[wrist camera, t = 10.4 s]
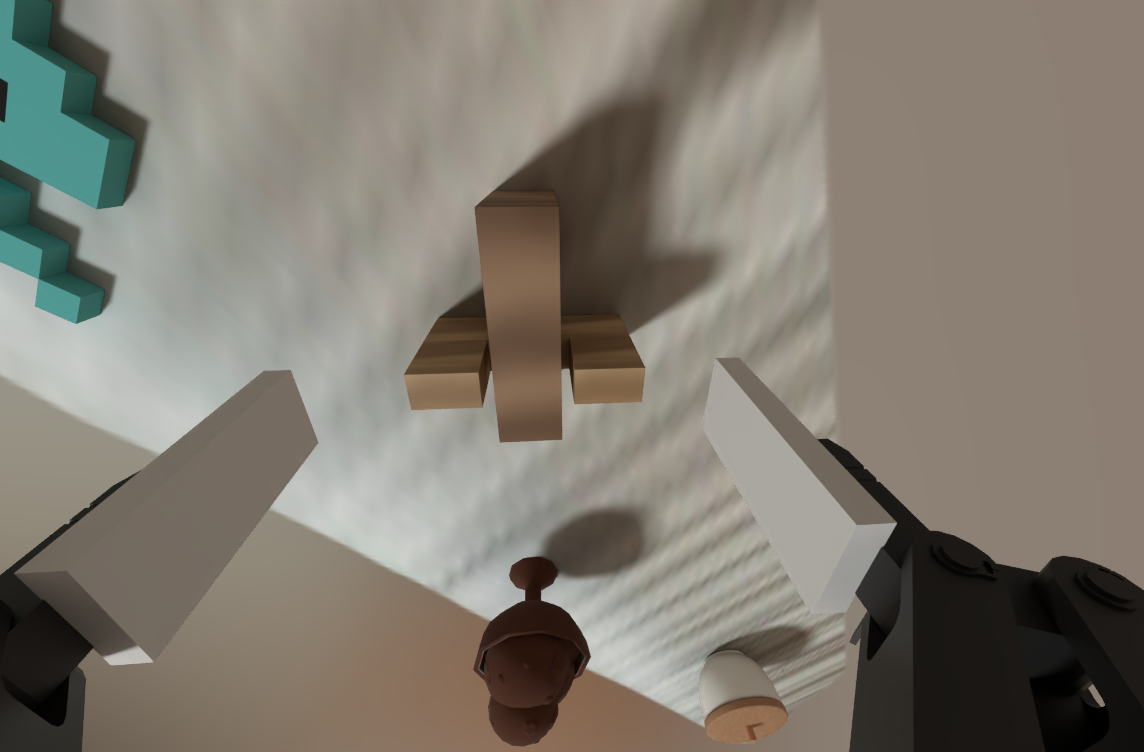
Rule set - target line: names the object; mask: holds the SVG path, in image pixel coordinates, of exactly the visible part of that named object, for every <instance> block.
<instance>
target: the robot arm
mask: <svg viewBox="0 0 1144 752" xmlns="http://www.w3.org/2000/svg"><path fill="white" fill-rule="evenodd" d="M702 429H703V431H704V432H705V434H706V436H707V437H708V439H709V441H710V442H711V444H712V446H713V448H714V449H715V451H716V453H717V454H718V456H719V458H720V460H721V461H722V463H723V465H724V466H725V468H726V470H727V472H728V473H729V475H730V477H731V478H732V480H733V482H734V483H735V485H736V487H737V489H738V490H739V492H740V494H741V495H742V497H743V499H744V501H745V502H746V504H747V506H748V507H749V509H750V511H751V513H752V514H753V516H754V518H755V519H756V521H757V523H758V524H759V526H760V528H761V530H762V531H763V533H764V535H765V536H766V538H767V540H768V542H769V543H770V545H771V547H772V548H773V550H774V552H775V554H776V555H777V557H778V559H779V560H780V562H781V564H782V565H783V567H784V569H785V571H786V572H787V574H788V576H789V577H790V579H791V581H792V583H793V584H794V586H795V588H796V589H797V591H798V593H799V595H800V596H801V598H802V600H803V601H804V603H805V605H806V606H807V608H808V610H809V612H810V613H811V615H815V614H829V613H843V612H846V611H847V609H848V607H849V606H850V604H851V602H852V600H853V599H854V597H855V595H857V597H858V598H859V599H860V601H861V602H862V604H863V605H864V607H865V608H866V609H867V613H866V614H865V616H864V618H863V619H862V621H861V622H860V624H859V626H858V627H857V629H856V630H855V632H854V634H853V636H852V638H851V640H850V643H852V644H854V645H856V644H857V642H858V641H859V639H860V638H861V640H860V650H859V660H858V670H857V681H856V690H855V700H854V710H853V720H852V730H851V741H850V750H849V752H1144V590H1142V589H1141V588H1140V587H1138V586H1136V585H1135V584H1133V583H1132V582H1131V581H1129V580H1128V579H1126V578H1125V577H1123V576H1122V575H1120V574H1118V573H1116V572H1114V571H1111V570H1110V569H1107V568H1105V567H1103V566H1101V565H1098V564H1095V563H1092V562H1089V561H1087V560H1084V559H1081V558H1075V557H1067V556H1060V557H1056V558H1052V559H1051V560H1050V561H1049V563H1048V564H1047V565H1046V566H1045V567H1044V568H1043V569H1042V570H1041V571H1040V572H1035V571H1030V570H1025V569H1020V568H1016V567H1011V566H1006V565H1001V564H996V563H995V562H994V561H993V560H992V559H991V558H990V557H989V556H988V555H987V554H985V553H984V552H982V551H981V550H980V549H978V548H977V547H975V546H974V545H972V544H970V543H968V542H966V541H964V540H962V539H960V538H958V537H956V536H954V535H950V534H946V533H943V532H939V531H929V530H928V529H927V528H926V527H925V526H924V525H923V524H922V523H921V522H920V521H919V520H918V519H917V518H916V517H915V516H914V515H913V514H912V513H911V512H910V511H909V510H908V509H907V508H906V507H905V506H904V505H903V504H902V503H901V502H900V501H899V500H898V499H897V498H896V497H895V496H894V495H893V494H892V493H890V491H888V490H887V488H885V487H884V486H883V485H882V484H881V483H880V482H877V481H876V478H875V477H874V476H873V475H872V474H871V473H870V472H869V471H868V470H867V469H864V466H863V465H862V464H861V463H860V462H859V461H858V460H857V459H856V458H855V457H854V456H853V455H851V453H849V451H847V450H845V449H844V448H842V447H841V446H839V445H837V444H836V443H834V442H832V441H831V440H829V439H816V438H815V437H814V436H813V435H812V433H811V432H810V431H809V430H808V429H807V428H806V427H805V426H804V425H803V424H802V423H801V422H800V421H799V420H798V419H797V418H796V417H795V416H794V415H793V414H792V413H791V412H790V411H789V409H788V408H787V407H786V406H785V405H784V404H783V403H782V402H781V401H780V400H779V399H778V398H777V397H776V396H775V395H774V394H773V393H772V392H771V391H770V390H769V389H768V388H767V387H766V385H765V384H764V383H763V382H762V381H761V380H760V379H759V378H758V377H757V376H756V375H755V374H754V373H753V372H752V371H751V370H750V369H749V368H748V367H747V366H746V365H745V364H744V363H743V361H742V360H741V359H740V358H716V359H715V364H714V369H713V374H712V379H711V384H710V389H709V394H708V399H707V404H706V409H705V414H704V419H703V424H702ZM317 444H318V440H317V438H316V435H315V433H314V430H313V427H312V425H311V422H310V419H309V417H308V414H307V412H306V409H305V406H304V404H303V401H302V398H301V396H300V393H299V391H298V388H297V385H296V383H295V380H294V378H293V375H292V372H291V370H279V371H263V372H262V373H261V374H260V375H258V376H257V377H256V378H255V379H253V380H252V381H251V382H250V383H248V384H247V385H246V386H245V387H244V388H242V389H241V390H240V391H239V392H237V393H236V394H235V395H234V396H232V397H231V398H230V399H229V400H227V401H226V402H225V403H224V404H223V405H221V406H220V407H219V408H218V409H216V410H215V411H214V412H213V413H211V414H210V415H209V416H208V417H207V418H205V419H204V420H203V421H202V422H200V423H199V424H198V425H197V426H195V427H194V428H193V429H192V430H190V431H189V432H188V433H187V434H186V435H184V436H183V437H182V438H181V439H179V440H178V441H177V442H176V443H174V444H173V445H172V446H171V447H169V448H168V449H167V450H166V451H165V452H163V453H162V454H161V455H160V456H158V457H157V458H156V459H155V460H153V462H151V463H150V464H149V465H147V466H146V467H145V468H144V469H142V470H140V471H139V472H137V473H135V474H133V475H131V476H130V477H128V478H126V479H125V480H122V481H121V482H119V483H117V484H115V485H113V486H112V487H111V488H110V489H108V490H107V491H106V492H105V493H103V494H102V495H101V496H100V497H98V498H97V499H96V500H95V501H93V502H92V503H91V504H90V507H89V508H84V509H83V510H82V511H81V512H80V513H78V514H77V515H76V516H74V517H73V518H72V519H71V520H70V523H69V524H64V525H63V526H62V527H60V528H59V529H58V530H57V531H55V532H54V533H53V534H52V535H50V536H49V537H48V538H47V539H45V540H44V541H43V542H41V543H40V544H39V545H38V546H36V547H35V548H34V549H33V550H31V551H30V552H29V553H28V554H26V555H25V556H24V557H23V558H21V559H20V560H19V561H18V562H16V563H15V564H14V565H13V566H11V567H10V568H9V569H7V570H6V571H5V572H4V573H2V574H1V575H0V752H82V737H83V720H84V702H85V685H86V678H85V676H84V673H83V671H82V670H81V669H80V668H79V667H78V666H77V665H78V664H79V663H80V662H81V661H82V660H83V659H84V657H85V656H86V655H87V654H88V653H89V652H90V651H91V650H92V649H94V650H95V651H97V652H98V653H99V654H100V655H101V656H102V657H103V658H104V659H105V660H106V661H107V662H108V663H109V664H110V665H122V664H135V663H149V662H155V660H156V659H157V657H158V656H159V655H160V653H161V652H162V651H163V650H164V648H165V647H166V645H167V644H168V643H169V642H170V640H171V639H172V637H173V636H174V635H175V633H176V632H177V631H178V629H179V628H180V627H181V625H182V624H183V623H184V621H185V620H186V619H187V617H188V616H189V615H190V613H191V612H192V611H193V609H194V608H195V607H196V605H197V604H198V603H199V601H200V600H201V599H202V597H203V596H204V595H205V593H206V592H207V591H208V589H209V588H210V587H211V585H212V584H213V583H214V581H215V580H216V579H217V577H218V576H219V575H220V573H221V572H222V571H223V569H224V568H225V567H226V565H227V564H228V563H229V561H230V560H231V558H232V557H233V556H234V555H235V553H236V552H237V551H238V549H239V548H240V547H241V545H242V544H243V543H244V541H245V540H246V539H247V537H248V536H249V535H250V533H251V532H252V531H253V529H254V528H255V527H256V525H257V524H258V523H259V521H260V520H261V518H262V517H263V516H264V515H265V513H266V512H267V511H268V509H269V508H270V507H271V505H272V504H273V503H274V501H275V500H276V499H277V497H278V496H279V495H280V493H281V492H282V491H283V489H284V488H285V487H286V485H287V484H288V483H289V481H290V480H291V479H292V477H293V476H294V475H295V473H296V472H297V471H298V469H299V468H300V467H301V465H302V464H303V463H304V461H305V460H306V459H307V457H308V456H309V455H310V453H311V452H312V450H313V449H314V448H315V446H316V445H317ZM1092 684H1094V686H1095V688H1096V689H1097V691H1098V692H1099V694H1100V696H1101V697H1102V699H1103V701H1104V703H1105V706H1104V707H1100V705H1099V704H1098V703H1097V702H1096V700H1095V699H1094V697H1093V696H1092V694H1091V692H1090V691H1089V689H1088V688H1089V687H1090V686H1091V685H1092Z"/></svg>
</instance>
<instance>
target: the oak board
mask: <svg viewBox="0 0 1144 752" xmlns="http://www.w3.org/2000/svg"><path fill="white" fill-rule="evenodd" d="M567 368H569V369H570V376H571V383H572V390H573V398H574V404H594V403H623V402H642V394H643V385H644V375H645V366H644V364H643V362H642V360H641V358H640V356H639V354H638V352H637V350H636V348H635V346H634V344H633V342H632V340H631V338H630V336H629V334H628V332H627V330H626V328H625V326H624V324H623V322H622V320H621V317H620V315H619V314H614V315H566V316H561V369H567ZM490 371H492V365H491V355H490V346H489V337H488V327H487V318H486V317H470V318H438V319H437V321H436V322H435V324H434V325H433V327H432V329H431V330H430V332H429V334H428V335H427V337H426V339H425V340H424V342H423V344H422V345H421V347H420V349H419V350H418V352H417V354H416V355H415V357H414V359H413V360H412V362H411V364H410V365H409V367H408V369H407V370H406V372H405V374H404V379H405V383H406V387H407V392H408V396H409V401H410V405H411V410H425V409H453V408H481V407H483V403H484V398H485V393H486V389H487V384H488V380H489V375H490Z"/></svg>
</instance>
